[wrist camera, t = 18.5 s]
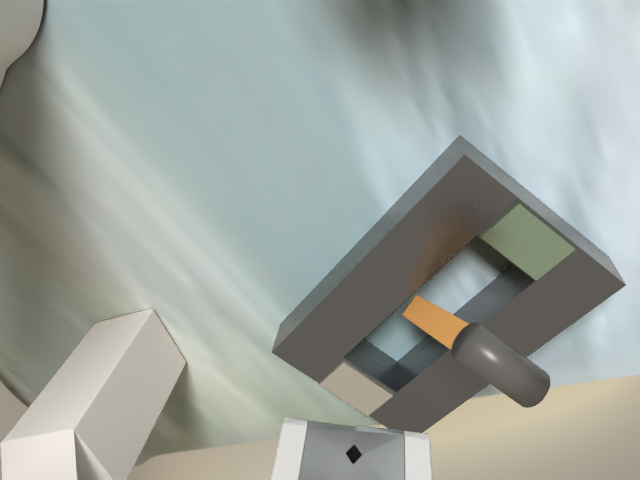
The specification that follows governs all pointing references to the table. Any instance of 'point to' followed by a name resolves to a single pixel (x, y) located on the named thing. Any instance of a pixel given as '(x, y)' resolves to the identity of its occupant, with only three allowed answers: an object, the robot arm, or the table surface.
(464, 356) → the lever
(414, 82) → the table surface
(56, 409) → the milk carton
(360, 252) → the breaker box
